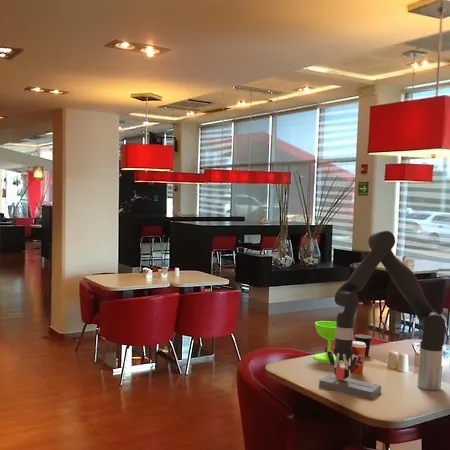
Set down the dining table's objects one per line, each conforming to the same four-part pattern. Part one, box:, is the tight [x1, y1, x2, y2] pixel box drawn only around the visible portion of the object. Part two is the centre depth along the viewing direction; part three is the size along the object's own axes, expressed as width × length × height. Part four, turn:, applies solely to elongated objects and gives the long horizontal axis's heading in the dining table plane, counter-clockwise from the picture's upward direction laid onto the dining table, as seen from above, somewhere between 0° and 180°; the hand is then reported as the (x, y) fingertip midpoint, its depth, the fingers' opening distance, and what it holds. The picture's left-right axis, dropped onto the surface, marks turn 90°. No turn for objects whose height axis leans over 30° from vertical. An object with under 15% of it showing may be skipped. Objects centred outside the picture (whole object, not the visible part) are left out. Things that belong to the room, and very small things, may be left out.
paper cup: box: [349, 340, 366, 375], centre depth 264 cm, size 8×8×14 cm
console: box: [318, 373, 382, 400], centre depth 237 cm, size 23×12×3 cm, turn 57°
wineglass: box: [312, 320, 344, 364], centre depth 285 cm, size 16×16×18 cm
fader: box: [335, 364, 347, 380], centre depth 239 cm, size 4×5×6 cm
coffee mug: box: [354, 334, 372, 358], centre depth 296 cm, size 12×9×10 cm
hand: (341, 376), depth 239 cm, fingers closed on fader, 3 cm apart
